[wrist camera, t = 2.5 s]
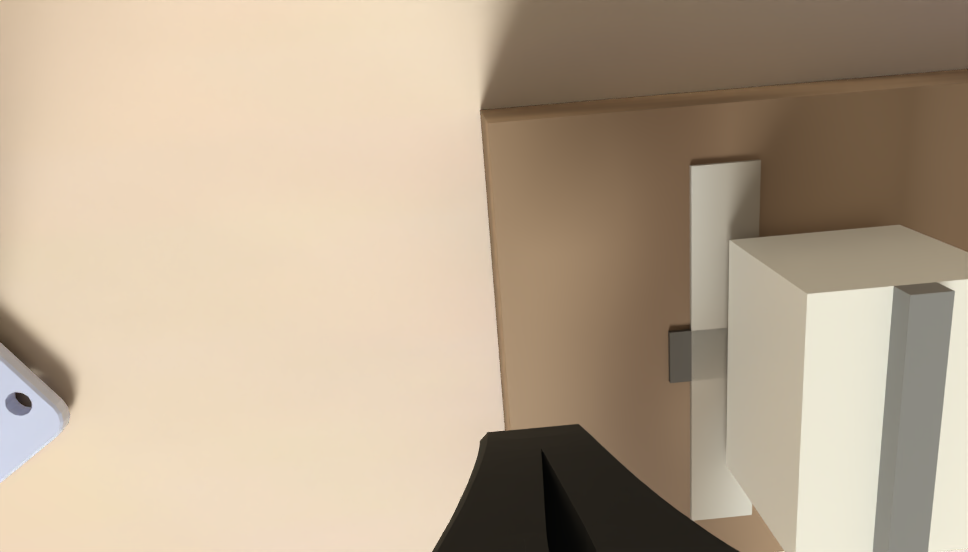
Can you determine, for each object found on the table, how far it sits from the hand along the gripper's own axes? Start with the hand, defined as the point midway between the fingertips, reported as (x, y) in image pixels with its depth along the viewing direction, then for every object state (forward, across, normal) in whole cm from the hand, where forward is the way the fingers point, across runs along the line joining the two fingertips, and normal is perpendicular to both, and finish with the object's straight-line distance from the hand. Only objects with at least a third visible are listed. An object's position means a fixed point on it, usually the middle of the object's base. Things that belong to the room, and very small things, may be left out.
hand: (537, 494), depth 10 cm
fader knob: (+4, -5, 0) cm, 7 cm away
